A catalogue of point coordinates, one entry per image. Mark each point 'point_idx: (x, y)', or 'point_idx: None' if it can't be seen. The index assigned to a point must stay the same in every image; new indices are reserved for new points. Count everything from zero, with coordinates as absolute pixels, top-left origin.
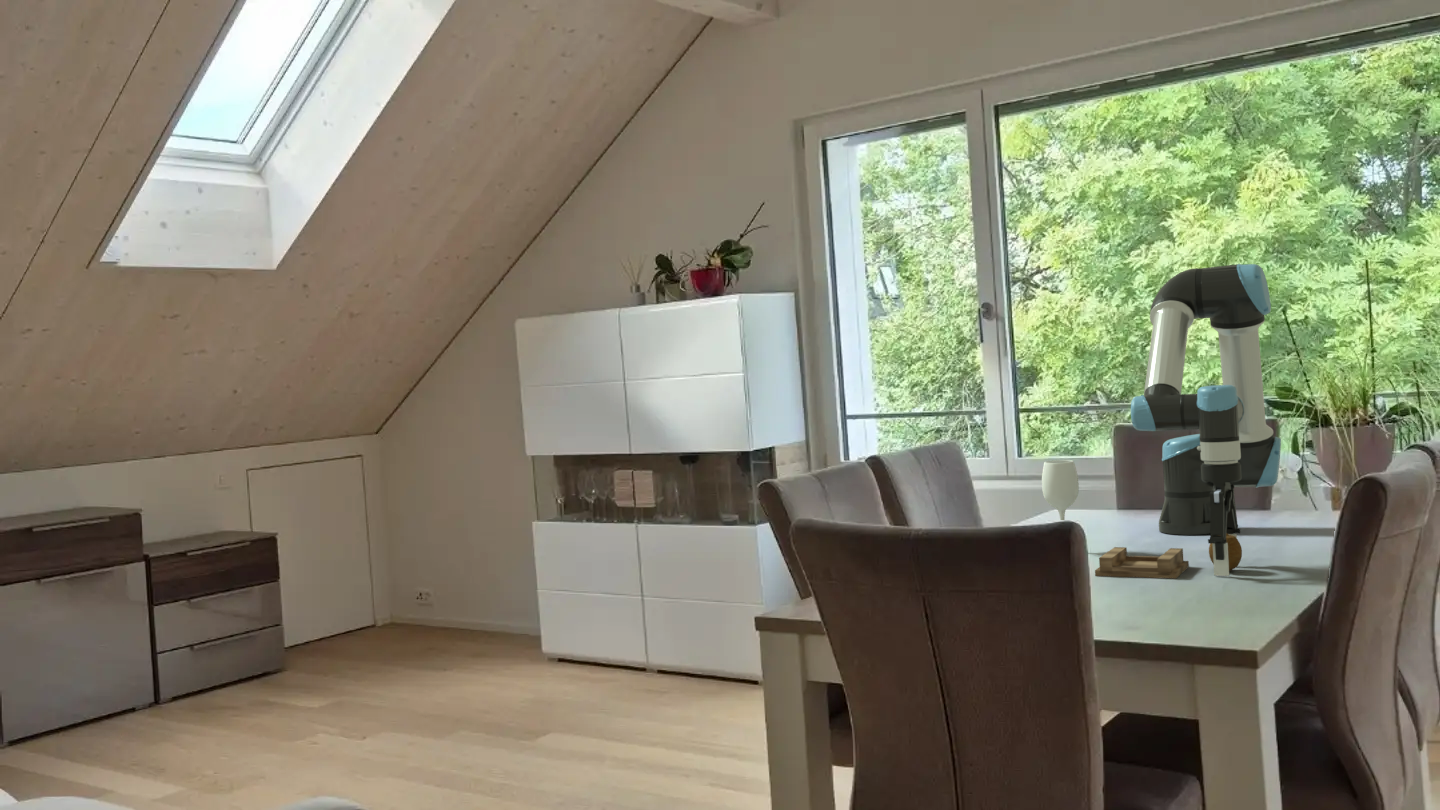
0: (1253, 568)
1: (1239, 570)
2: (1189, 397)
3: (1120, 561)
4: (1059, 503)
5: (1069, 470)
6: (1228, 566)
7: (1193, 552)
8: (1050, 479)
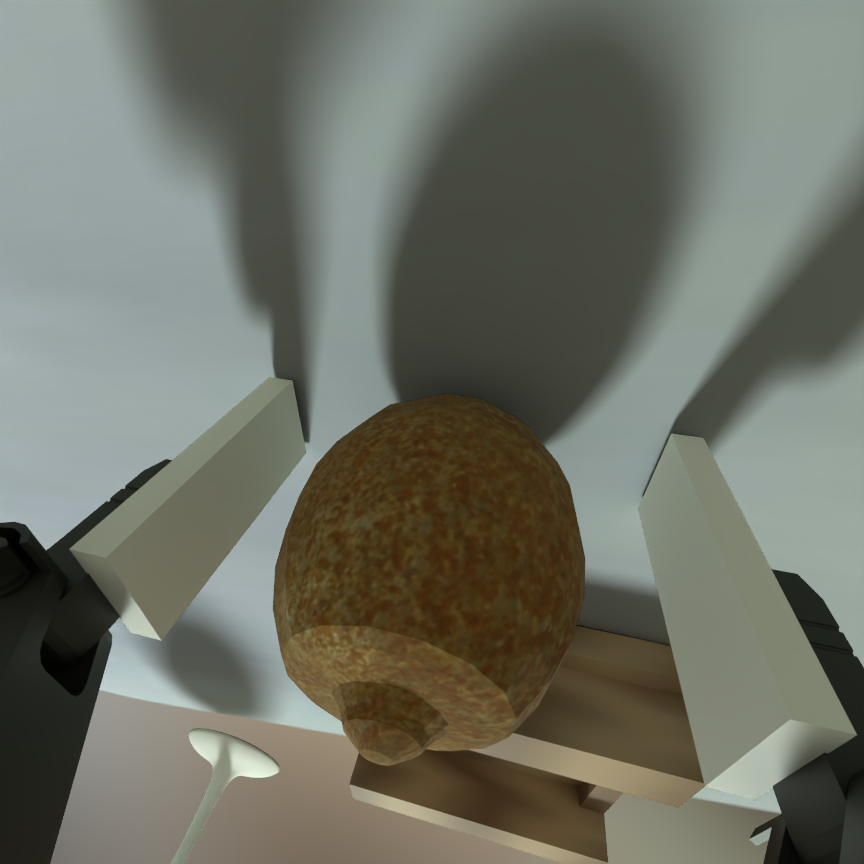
0: (314, 270)
1: (413, 365)
2: None
3: (465, 769)
4: None
5: None
6: (711, 484)
7: (51, 535)
8: None
